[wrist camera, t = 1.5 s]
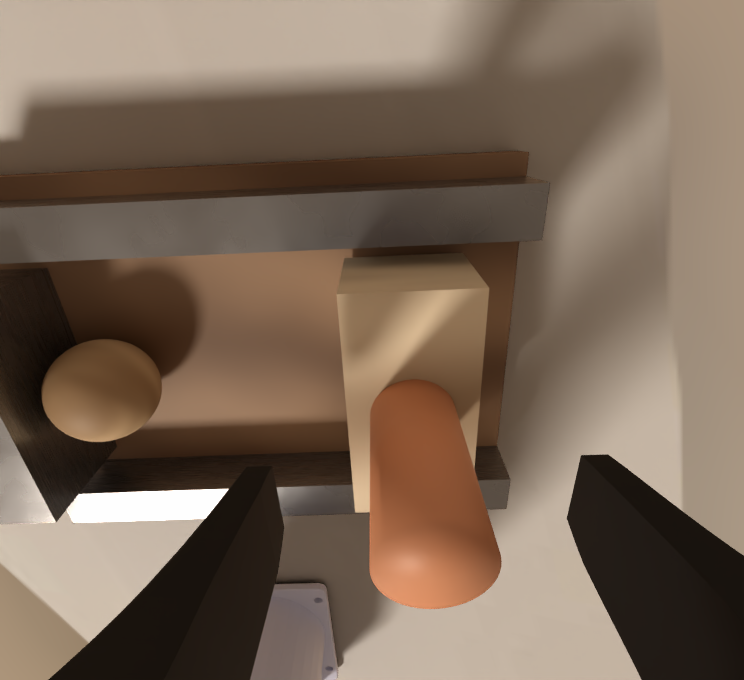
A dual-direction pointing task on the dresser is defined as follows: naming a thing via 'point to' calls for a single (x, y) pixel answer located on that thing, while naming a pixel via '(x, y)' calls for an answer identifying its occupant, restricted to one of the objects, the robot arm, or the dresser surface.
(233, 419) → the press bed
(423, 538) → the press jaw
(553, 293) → the dresser surface
